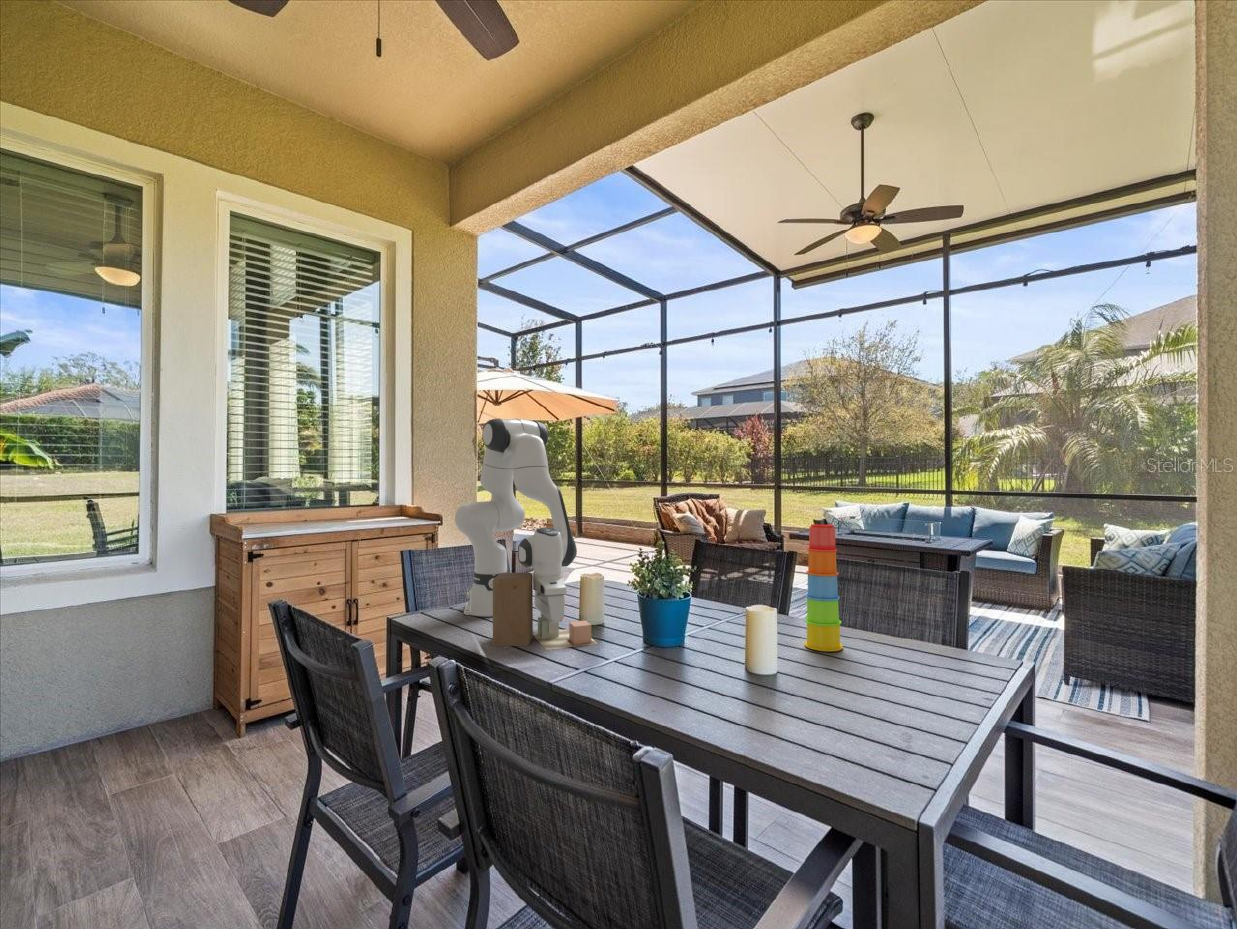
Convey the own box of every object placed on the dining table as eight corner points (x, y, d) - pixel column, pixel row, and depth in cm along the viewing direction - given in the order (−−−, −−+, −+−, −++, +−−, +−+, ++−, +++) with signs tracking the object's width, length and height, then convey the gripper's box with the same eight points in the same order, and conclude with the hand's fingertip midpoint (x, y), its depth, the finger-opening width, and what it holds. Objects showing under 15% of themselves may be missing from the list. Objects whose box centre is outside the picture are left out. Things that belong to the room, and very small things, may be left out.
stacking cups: (797, 646, 165) (797, 524, 165) (816, 639, 172) (815, 522, 172) (831, 655, 158) (830, 527, 158) (849, 647, 165) (849, 525, 165)
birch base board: (531, 637, 175) (531, 633, 175) (579, 631, 181) (579, 627, 181) (546, 654, 159) (546, 649, 159) (598, 647, 165) (598, 643, 165)
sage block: (537, 634, 174) (537, 617, 174) (554, 632, 176) (554, 615, 176) (542, 638, 170) (542, 621, 170) (558, 636, 171) (558, 619, 171)
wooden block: (527, 650, 163) (527, 578, 163) (492, 650, 163) (491, 578, 163) (533, 639, 173) (533, 572, 173) (499, 639, 173) (499, 572, 173)
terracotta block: (569, 639, 169) (569, 622, 169) (585, 637, 170) (585, 620, 170) (574, 644, 164) (574, 626, 164) (591, 642, 166) (591, 624, 166)
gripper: (529, 577, 181) (529, 622, 181) (546, 591, 162) (546, 640, 162) (549, 576, 184) (549, 620, 184) (568, 589, 165) (568, 638, 165)
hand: (548, 630), depth 173 cm, fingers closed on sage block, 5 cm apart
